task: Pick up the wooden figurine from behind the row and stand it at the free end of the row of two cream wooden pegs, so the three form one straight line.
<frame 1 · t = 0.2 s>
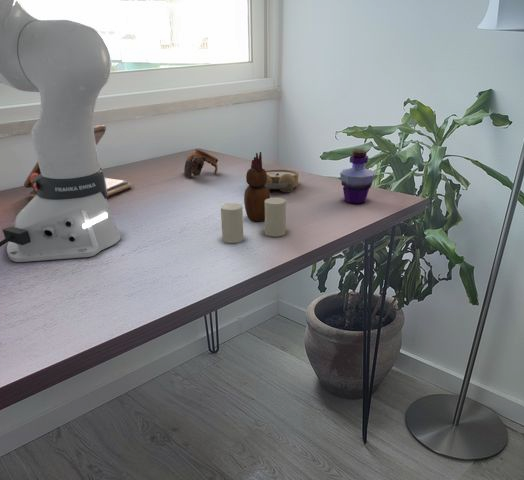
tan low rounded piece: (276, 188, 136), on the table
middle peg: (275, 233, 108), on the table
case: (81, 193, 136), on the table
near peg: (233, 239, 106), on the table
potion bottle: (355, 201, 126), on the table
wooden figurine: (257, 219, 116), on the table
brown arched piece: (200, 176, 148), on the table
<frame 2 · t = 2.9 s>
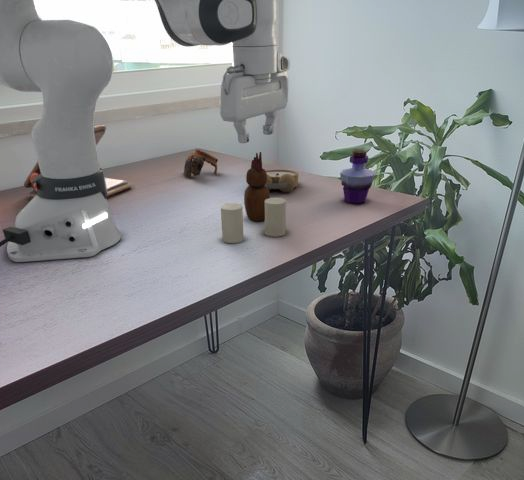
hand: (256, 138, 106), 17 cm above the table, tool pointing down, fingers open, 8 cm apart
nothing on the table moved.
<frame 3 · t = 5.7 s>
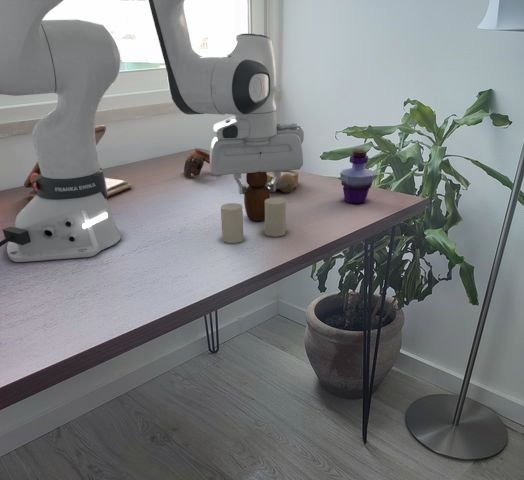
hand: (257, 192, 112), 6 cm above the table, tool pointing down, fingers closed on wooden figurine, 5 cm apart
wooden figurine: (257, 219, 116), on the table, touching gripper
everything else where it was.
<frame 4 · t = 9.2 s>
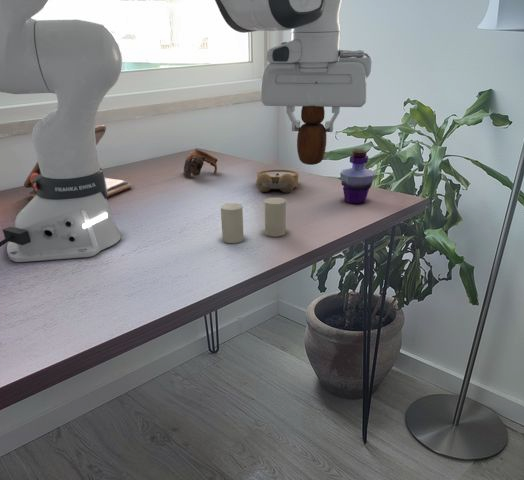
hand: (312, 131, 100), 20 cm above the table, tool pointing down, fingers closed on wooden figurine, 5 cm apart
wooden figurine: (310, 163, 104), point 13 cm above the table, touching gripper
everything else where it was.
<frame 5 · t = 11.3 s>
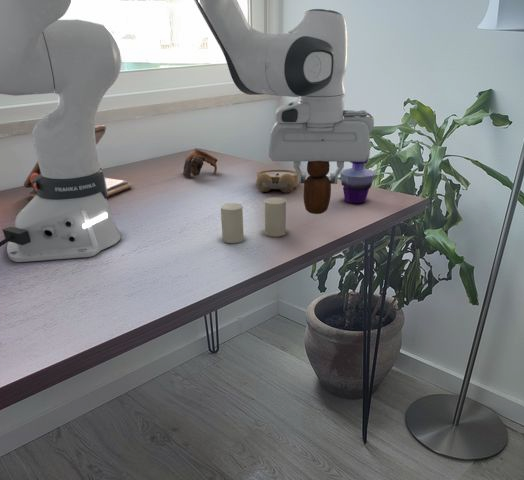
hand: (317, 183, 105), 10 cm above the table, tool pointing down, fingers closed on wooden figurine, 5 cm apart
wooden figurine: (316, 212, 109), point 3 cm above the table, touching gripper
everything else where it was.
when the fingers open (6 cm above the table, at t = 12.7 s): wooden figurine stays where it is, on the table.
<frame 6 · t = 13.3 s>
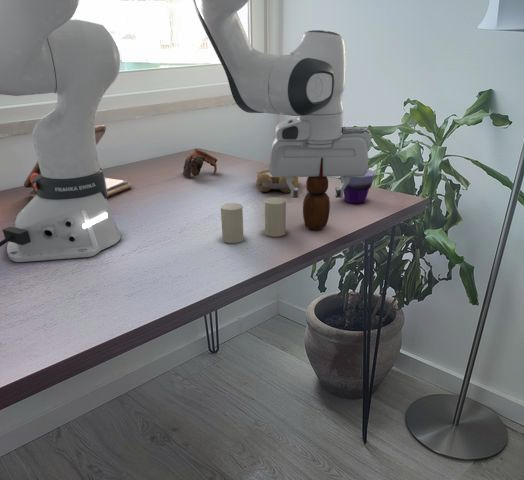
hand: (316, 197, 107), 7 cm above the table, tool pointing down, fingers open, 8 cm apart
wooden figurine: (315, 228, 111), on the table
everything else where it was.
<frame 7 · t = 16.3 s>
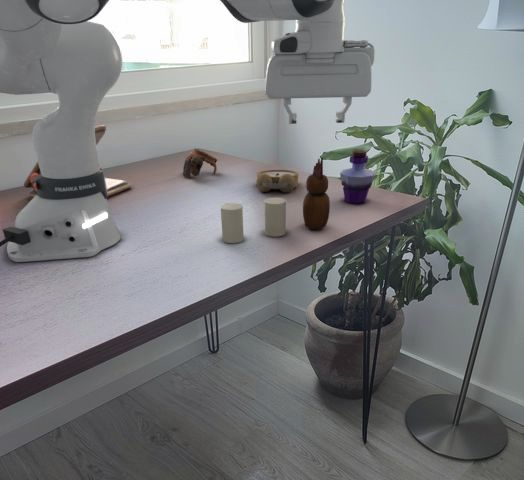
hand: (316, 122, 100), 21 cm above the table, tool pointing down, fingers open, 8 cm apart
nothing on the table moved.
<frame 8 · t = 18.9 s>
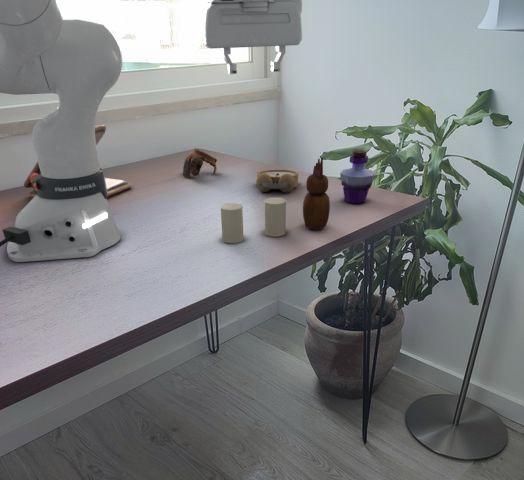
hand: (254, 72, 105), 29 cm above the table, tool pointing down, fingers open, 8 cm apart
nothing on the table moved.
at the end: wooden figurine 0.1 cm from the target spot, on the table; wooden figurine tilted 0°; the gripper is holding nothing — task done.
